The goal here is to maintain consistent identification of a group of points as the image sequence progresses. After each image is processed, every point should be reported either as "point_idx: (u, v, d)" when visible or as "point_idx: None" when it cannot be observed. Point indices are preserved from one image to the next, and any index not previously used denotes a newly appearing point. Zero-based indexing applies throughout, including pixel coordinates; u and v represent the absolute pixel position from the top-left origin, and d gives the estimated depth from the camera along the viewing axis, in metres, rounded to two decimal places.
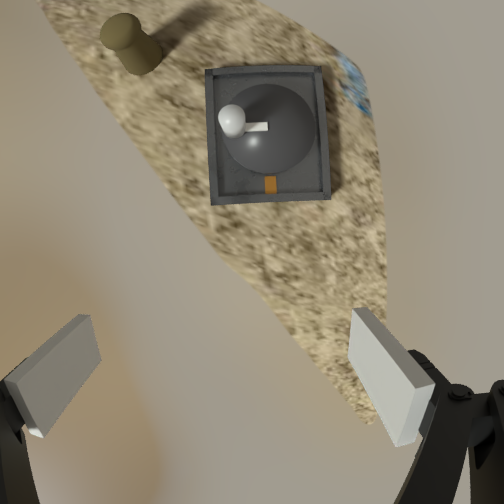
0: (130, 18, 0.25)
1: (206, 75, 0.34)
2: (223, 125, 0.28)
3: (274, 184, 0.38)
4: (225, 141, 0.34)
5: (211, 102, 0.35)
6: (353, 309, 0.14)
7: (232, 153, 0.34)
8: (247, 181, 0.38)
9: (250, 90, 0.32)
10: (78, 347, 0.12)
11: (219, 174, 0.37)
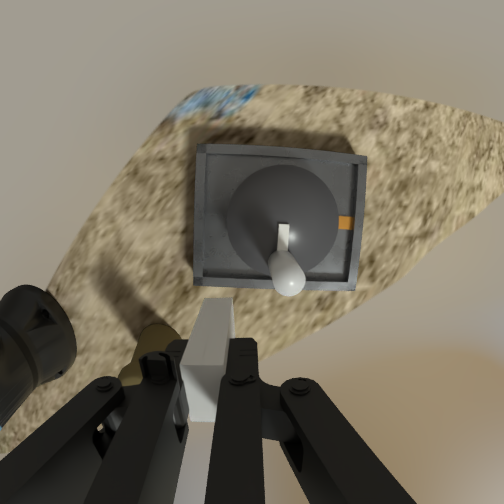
0: (128, 378, 0.27)
1: (201, 284, 0.33)
2: (298, 290, 0.24)
3: (342, 218, 0.32)
4: None
5: (238, 281, 0.33)
6: (218, 298, 0.16)
7: (310, 267, 0.30)
8: (334, 247, 0.33)
9: (234, 239, 0.29)
10: None
11: (322, 277, 0.34)
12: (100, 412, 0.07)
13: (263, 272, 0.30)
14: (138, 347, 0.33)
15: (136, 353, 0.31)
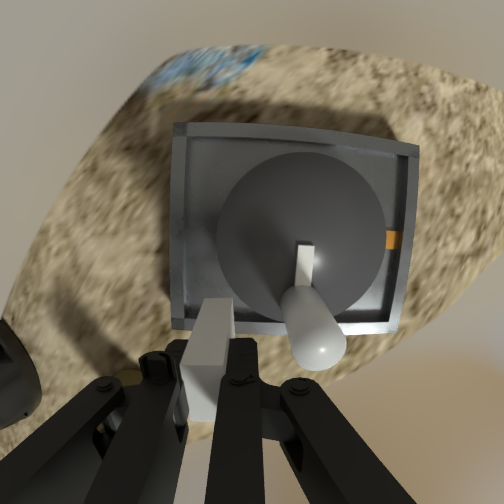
0: None
1: (183, 327, 0.22)
2: (334, 362, 0.14)
3: None
4: None
5: (236, 324, 0.22)
6: (218, 298, 0.16)
7: (343, 308, 0.20)
8: None
9: (228, 268, 0.19)
10: None
11: (354, 315, 0.23)
12: (100, 412, 0.07)
13: (273, 317, 0.20)
14: None
15: None
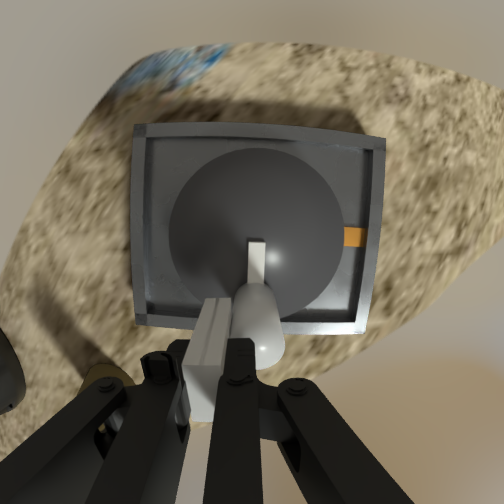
0: None
1: (146, 323, 0.22)
2: (273, 361, 0.14)
3: (350, 230, 0.22)
4: None
5: (195, 321, 0.22)
6: (216, 299, 0.16)
7: (300, 306, 0.20)
8: (337, 273, 0.22)
9: (181, 266, 0.19)
10: None
11: (318, 315, 0.23)
12: (102, 412, 0.07)
13: None
14: None
15: None
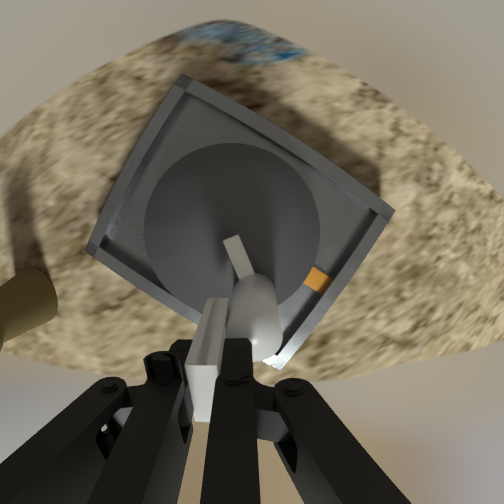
0: None
1: (94, 254, 0.21)
2: (277, 346, 0.13)
3: (317, 272, 0.22)
4: (283, 299, 0.19)
5: (137, 277, 0.21)
6: (214, 299, 0.16)
7: (301, 280, 0.19)
8: (285, 304, 0.23)
9: (174, 288, 0.19)
10: None
11: None
12: (104, 413, 0.07)
13: None
14: (3, 285, 0.20)
15: None
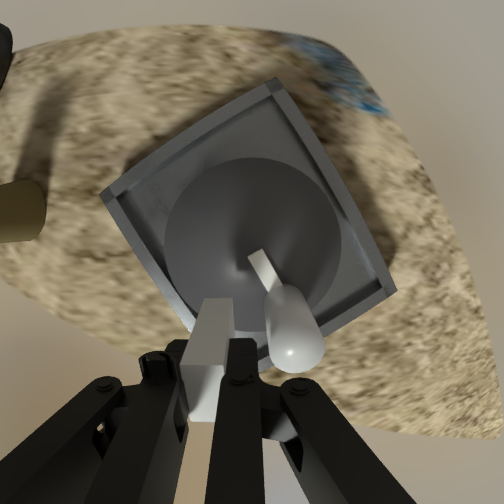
0: None
1: (107, 203, 0.20)
2: (321, 354, 0.13)
3: None
4: (312, 305, 0.19)
5: (140, 244, 0.21)
6: (218, 298, 0.16)
7: (328, 285, 0.19)
8: None
9: None
10: None
11: None
12: (100, 412, 0.07)
13: None
14: None
15: None
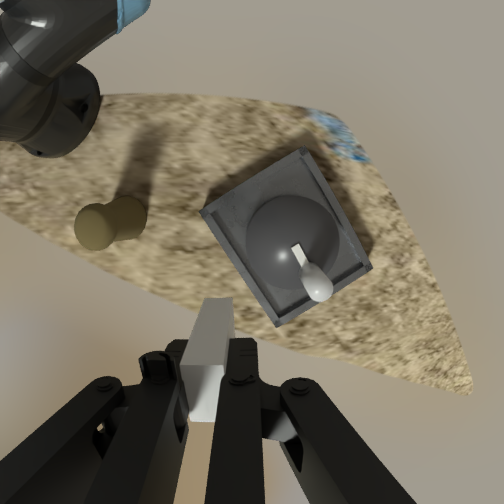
0: (97, 213, 0.28)
1: (204, 216, 0.36)
2: (331, 292, 0.30)
3: None
4: (324, 274, 0.36)
5: (225, 241, 0.37)
6: (218, 298, 0.16)
7: (332, 263, 0.35)
8: (295, 291, 0.39)
9: (266, 277, 0.36)
10: None
11: (268, 298, 0.40)
12: (100, 412, 0.07)
13: (301, 287, 0.36)
14: (117, 202, 0.34)
15: (113, 204, 0.33)
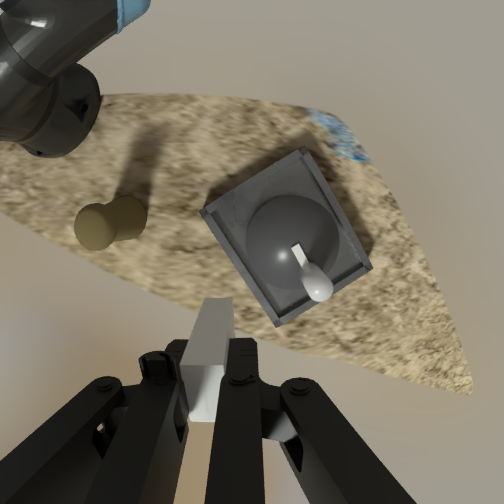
0: (97, 213, 0.28)
1: (204, 216, 0.36)
2: (331, 292, 0.30)
3: None
4: (324, 274, 0.36)
5: (225, 241, 0.37)
6: (218, 298, 0.16)
7: (332, 263, 0.35)
8: (295, 291, 0.39)
9: (266, 277, 0.36)
10: None
11: (268, 298, 0.40)
12: (100, 412, 0.07)
13: (301, 287, 0.36)
14: (117, 202, 0.34)
15: (113, 204, 0.33)
